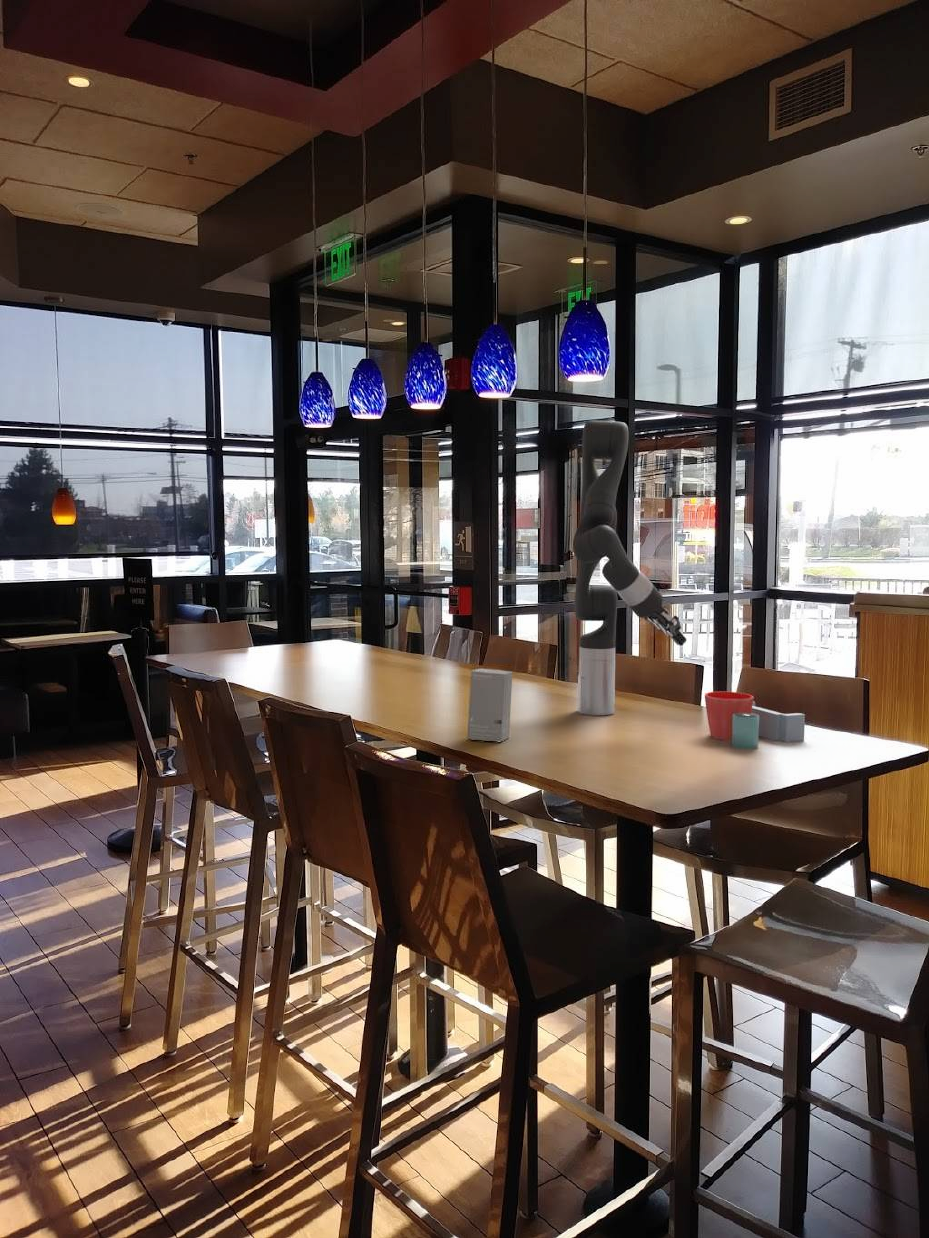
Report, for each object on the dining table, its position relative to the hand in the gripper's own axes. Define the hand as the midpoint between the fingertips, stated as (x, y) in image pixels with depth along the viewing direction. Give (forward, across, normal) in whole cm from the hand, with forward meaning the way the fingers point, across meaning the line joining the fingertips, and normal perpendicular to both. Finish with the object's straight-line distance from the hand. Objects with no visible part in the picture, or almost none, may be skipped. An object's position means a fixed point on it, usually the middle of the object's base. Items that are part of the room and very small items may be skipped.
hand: (682, 642), depth 240 cm
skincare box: (-20, +2, +49) cm, 53 cm away
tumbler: (+15, -24, +12) cm, 31 cm away
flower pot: (+18, -13, +11) cm, 25 cm away
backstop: (+25, -13, +4) cm, 28 cm away
